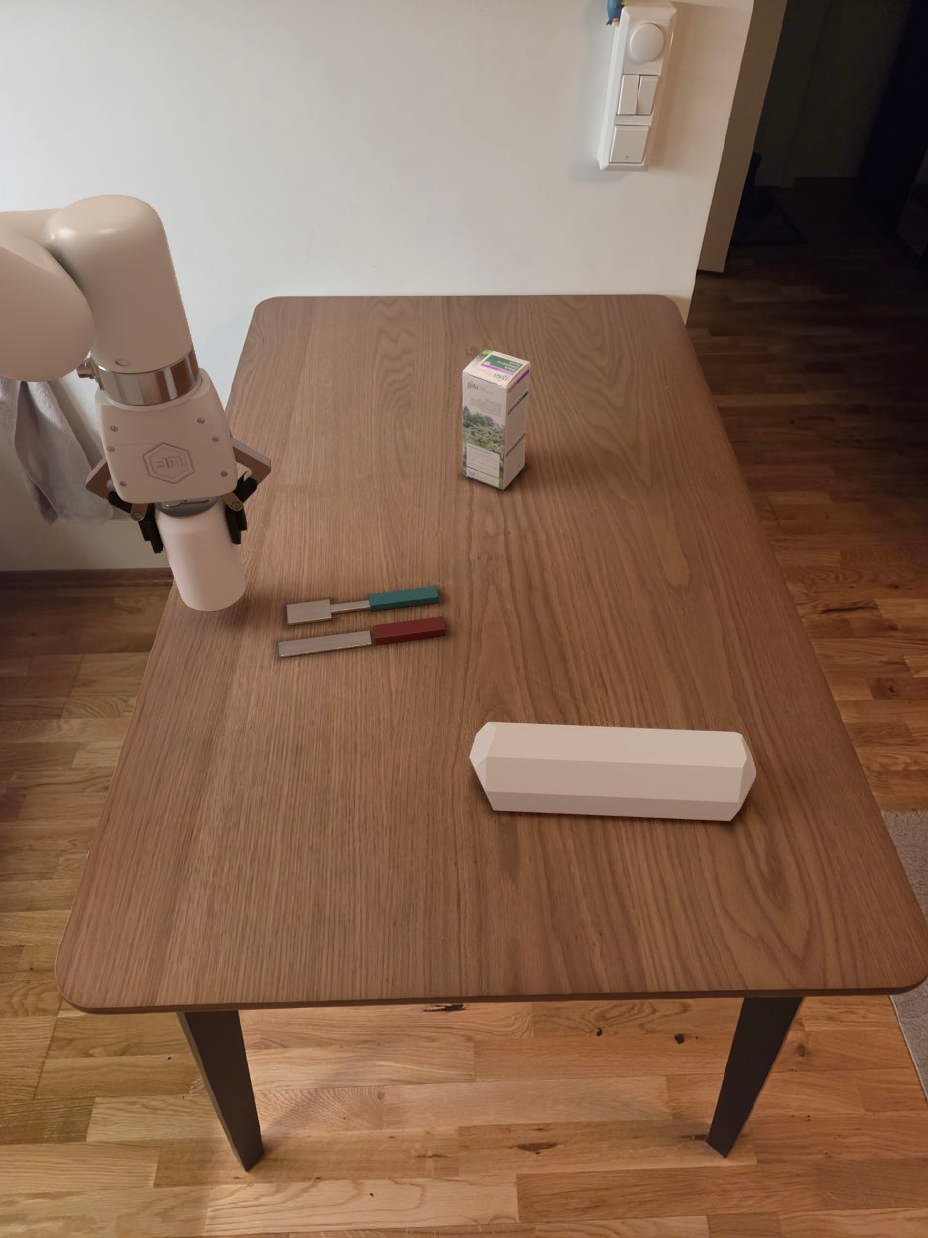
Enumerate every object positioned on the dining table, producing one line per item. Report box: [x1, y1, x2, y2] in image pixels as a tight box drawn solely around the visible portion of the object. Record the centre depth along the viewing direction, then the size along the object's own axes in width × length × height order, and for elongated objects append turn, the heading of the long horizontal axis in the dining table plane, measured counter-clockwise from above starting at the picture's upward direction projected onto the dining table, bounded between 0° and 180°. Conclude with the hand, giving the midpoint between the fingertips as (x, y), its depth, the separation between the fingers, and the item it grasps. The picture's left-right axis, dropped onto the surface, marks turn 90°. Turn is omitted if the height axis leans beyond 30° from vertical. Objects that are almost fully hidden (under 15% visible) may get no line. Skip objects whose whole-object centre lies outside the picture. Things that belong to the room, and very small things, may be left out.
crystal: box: [468, 721, 757, 822], centre depth 73 cm, size 7×7×24 cm
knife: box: [278, 615, 446, 658], centre depth 85 cm, size 16×2×1 cm, turn 100°
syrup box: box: [461, 348, 531, 491], centre depth 98 cm, size 6×6×14 cm
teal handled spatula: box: [286, 585, 439, 626], centre depth 88 cm, size 15×3×1 cm, turn 100°
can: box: [155, 496, 247, 613], centre depth 81 cm, size 6×6×12 cm
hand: (198, 537), depth 81 cm, fingers closed on can, 6 cm apart
